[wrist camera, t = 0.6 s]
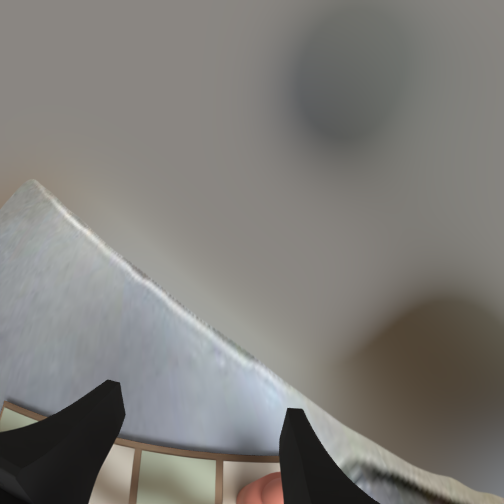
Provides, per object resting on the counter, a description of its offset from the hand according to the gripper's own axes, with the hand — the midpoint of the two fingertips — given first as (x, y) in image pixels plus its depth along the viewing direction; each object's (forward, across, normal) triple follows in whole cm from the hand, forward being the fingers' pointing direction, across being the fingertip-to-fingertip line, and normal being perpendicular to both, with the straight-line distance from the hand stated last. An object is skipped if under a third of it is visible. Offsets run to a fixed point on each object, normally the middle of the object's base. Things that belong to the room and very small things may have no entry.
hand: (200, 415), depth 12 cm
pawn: (+6, -5, +17) cm, 19 cm away
